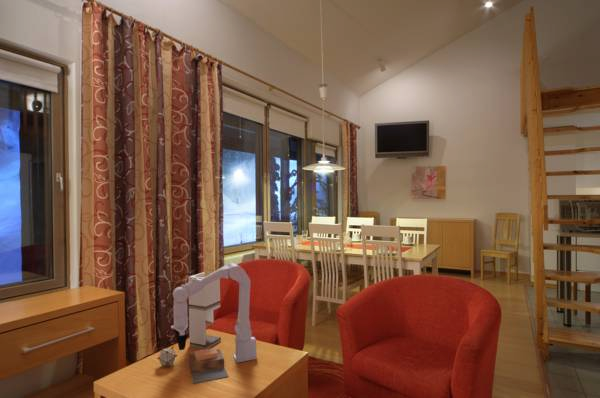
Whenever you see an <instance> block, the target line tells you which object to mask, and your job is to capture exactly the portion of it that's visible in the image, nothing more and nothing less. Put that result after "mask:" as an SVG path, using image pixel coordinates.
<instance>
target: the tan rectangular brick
mask: <svg viewBox="0 0 600 398" xmlns="http://www.w3.org/2000/svg"><path fill="white" fill-rule="evenodd" d="M194 353H195V358H196V361H199V360H205V359H210V358H216V357H217V351H216V347H210V348H209V349H200V350H199V349H198V350H195V351H194Z"/></svg>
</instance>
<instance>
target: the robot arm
mask: <svg viewBox="0 0 600 398" xmlns="http://www.w3.org/2000/svg"><path fill="white" fill-rule="evenodd" d="M229 278H230V279H232V280H233V281H236V282H237V283H238V284H239V286H238V287H239V289H238V291H239V292H238V310H237V311H238V313H237V319H236V323H235V325H234V332H235V334H236V336H235V338H234V339H235V340H234V341H235V346H234V347H235V354H233V359H234V360H235V362H236V363H242V362H247V361H252V360H253V361H254V360H257V359H258V357H257V356H258V355H257V340H256V337H255V336H252V335H253V332H252V329H251V322H250V304H251V303H250V302H251V300H250V299H251V298H250V297H251V279H250V277H249V276H248V274H247V273H246V270H245V269H243V268H242V267H241V266H240V265H239V264H237V263H235V262H230V263H228V264H225V265H223V266H221V267H220V268H218V269H216V270H214V271H213V272H211V273H210V274H208V275H205V277H204V278H202V279H198V278H197V279H192V281H191V282H189V283H188V282H187V283H185V284H184V283H183V284H181V286H177V287H176V288H174V290H173V292H172V297H173V325H171V326H170V328H171V329H172V330H174V332H175V333H174V337H175V339H176V341H177V345H178V350H179V351H184V350H185V349H186V343H187V340H188V337H189V332H186V331H187V329H188V328H189V321H188V320H189V318H188V303H187V300H188V299H189V297H190V296H192V295H194V294H196V293H198V292H200V291H201V290H203V288H204V286H205V285H207V284H209V283H211V282H213V281H215V280H218V279H220V280H221V279H227V280H228V279H229Z"/></svg>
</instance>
